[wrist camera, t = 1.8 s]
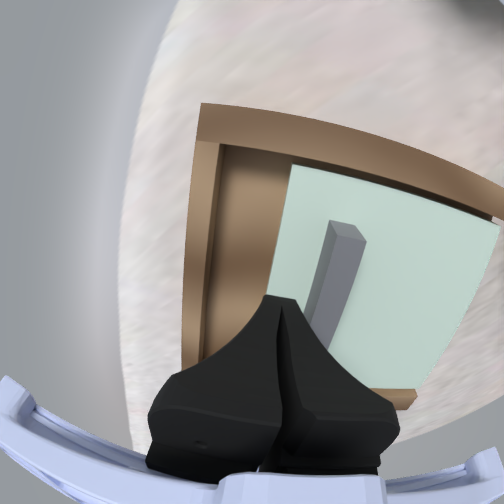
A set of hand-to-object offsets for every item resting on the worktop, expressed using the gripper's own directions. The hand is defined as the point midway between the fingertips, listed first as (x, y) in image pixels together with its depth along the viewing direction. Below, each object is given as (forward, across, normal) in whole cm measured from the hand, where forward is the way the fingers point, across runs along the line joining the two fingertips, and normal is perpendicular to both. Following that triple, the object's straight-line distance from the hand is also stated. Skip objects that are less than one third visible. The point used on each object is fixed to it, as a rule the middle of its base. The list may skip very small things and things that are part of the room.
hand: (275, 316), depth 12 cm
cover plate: (+3, -6, 0) cm, 6 cm away
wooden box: (+4, -4, 0) cm, 6 cm away
